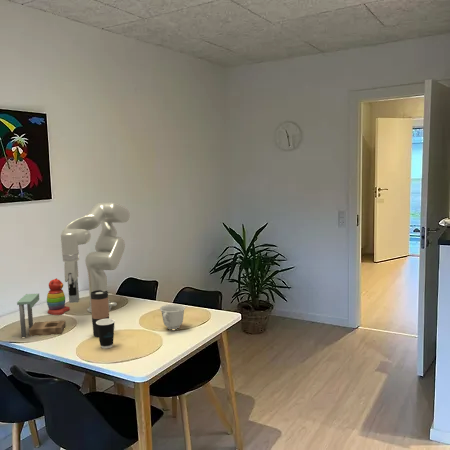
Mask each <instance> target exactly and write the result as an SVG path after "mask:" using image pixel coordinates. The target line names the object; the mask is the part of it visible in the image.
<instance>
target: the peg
mask: <svg viewBox="0 0 450 450" xmlns="http://www.w3.org/2000/svg"><path fill="white" fill-rule="evenodd" d="M78 280H79V277H78V278H77V280H76V281H75V287H76V295H75V296H70V295H69V294H68V300H69V301H68V303H69V304H72V303H79V302H80V291H79V281H78ZM72 281H73V280H72ZM72 283H73V282H72ZM67 289H68V290H67V292H68V293H69V281H67Z"/></svg>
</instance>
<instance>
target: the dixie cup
mask: <svg viewBox="0 0 450 450" xmlns="http://www.w3.org/2000/svg"><path fill="white" fill-rule="evenodd" d="M115 322H116V320H115V319H113V318H109V319H101V320H98V321H97V322H96V324H97V329H98V335H99V337H98V340H99V345H100V347H101V349H110V348H112V347H113V344H114V338H115V337H114V335H115V334H114V333H115Z"/></svg>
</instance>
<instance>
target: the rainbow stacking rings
mask: <svg viewBox="0 0 450 450" xmlns="http://www.w3.org/2000/svg"><path fill="white" fill-rule="evenodd" d="M48 288H49V291H48V292H47V295H46V305H47V308H48V310H47V314H48V315H52V316H53V315H54V316H61V315H62V316H63V314H64V313H65V312H68V311H70V310H71V308H70V306H67V305H66V296H65V292H64V290H63V288H64V282H62V281H61V280H60V279H58V278H54V279H51V280H50V281H49V283H48Z"/></svg>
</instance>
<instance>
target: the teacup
mask: <svg viewBox="0 0 450 450" xmlns="http://www.w3.org/2000/svg"><path fill="white" fill-rule="evenodd" d="M159 310H160V311H161V317H162V322H163V325H164V326H165V327H167V328H168V329H177V328H179V329H180V326H181V325H182V324H183V322H184V314H185V310H186V306H185V305H183V304H179V303H172V304H171V303H170V304H166V305H162V306H161V307H159ZM167 328H166V329H167ZM168 329H167V330H168ZM177 330H178V329H177Z"/></svg>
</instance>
